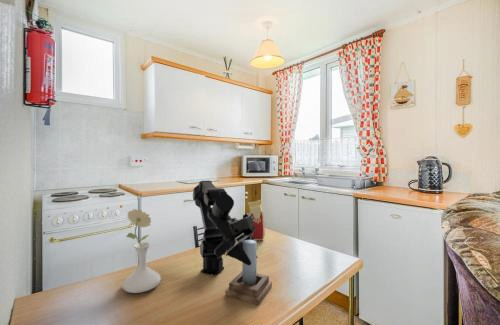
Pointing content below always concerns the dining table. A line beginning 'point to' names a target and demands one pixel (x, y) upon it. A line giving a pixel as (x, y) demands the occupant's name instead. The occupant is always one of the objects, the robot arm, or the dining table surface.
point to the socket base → (249, 289)
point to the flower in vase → (140, 259)
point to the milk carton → (257, 219)
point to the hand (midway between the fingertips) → (253, 261)
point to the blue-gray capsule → (250, 270)
